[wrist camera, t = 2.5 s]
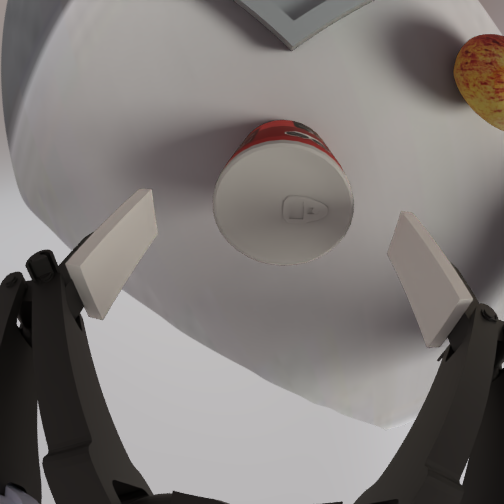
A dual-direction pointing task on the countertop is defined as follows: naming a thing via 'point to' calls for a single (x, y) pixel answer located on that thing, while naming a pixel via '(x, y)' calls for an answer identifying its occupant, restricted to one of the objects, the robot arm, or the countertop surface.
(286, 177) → the canned food
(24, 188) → the countertop surface
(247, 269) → the countertop surface
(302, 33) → the tray
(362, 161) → the countertop surface
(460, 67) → the apple
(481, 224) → the countertop surface
